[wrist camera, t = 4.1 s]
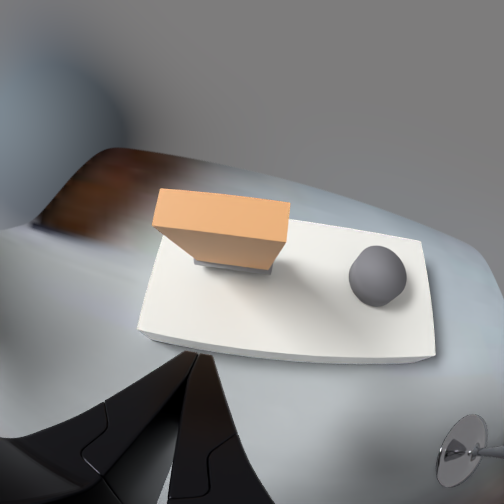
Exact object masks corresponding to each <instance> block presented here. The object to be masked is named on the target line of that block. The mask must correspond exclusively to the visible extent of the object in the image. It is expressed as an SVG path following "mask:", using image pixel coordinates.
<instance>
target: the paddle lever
mask: <svg viewBox="0 0 504 504" xmlns="http://www.w3.org/2000/svg"><path fill="white" fill-rule="evenodd" d="M289 212H290V203H288V202H281V201H274V200H267V199H259V198H251V197H243V196H234V195H225V194H216V193H206V192H196V191H185V190H173V189H161V188H160V192H159V196H158V200H157V204H156V209H155V213H154V218H153V222H152V226H153V227H154V228H156V229H157V230H158V231H159V232H161V233H162V234H163V235H165V236H166V237H167V238H168V239H170V240H171V241H172V242H174V243H175V244H176V245H177V246H179V247H180V248H181V249H183V250H184V251H185V252H187V253H188V254H189V255H190V256H192V257H193V258H194V264H195V265H200V266H207V267H215V268H222V269H229V270H237V271H244V272H252V273H259V274H267V275H271V272H272V267H273V262H274V261H275V259H276V257H277V256H278V254H279V253H280V251H281V250H282V248H283V247H284V245H285V244H286V241H287V232H288V222H289Z"/></svg>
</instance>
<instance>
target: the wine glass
mask: <svg viewBox="0 0 504 504" xmlns="http://www.w3.org/2000/svg"><path fill="white" fill-rule="evenodd" d="M487 440H488V430H487V425H486V423H485V421H484V419H483V418H482V417H481V416H479V415H476V414H471V415H467V416H465V417H463V418H462V419H461V420H459V421H458V422H457V423H456V424H455V425H454V427H453V428H452V429H451V430H450V432H449V433H448V435H447V436H446V438H445V440H444V442H443V444H442V447H441V449H440V452H439V455H438V459H437V465H436V475H437V479H438V481H439V483H440V484H441V485H442V486H444V487H448V488H450V487H455V486H458V485H460V484H461V483H463V482H464V481H466V480H467V479H468V478H469V477H470V476H471V475H472V474H473V473H474V471H475V470H476V469H477V467H478V466H479V464H480V462H481V460H482V458H483V456H486V457H495V458H501V459H504V445H503V446H498V447H491V448H486V446H487Z"/></svg>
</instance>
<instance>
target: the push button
mask: <svg viewBox="0 0 504 504" xmlns="http://www.w3.org/2000/svg"><path fill="white" fill-rule="evenodd" d="M406 281H407V275H406V270H405V267H404V264H403V263H402V261H401V259H400V258H399V257H398V256H397V255H396V254H395V253H394V252H393V251H391V250H390V249H388V248H386V247H383V246H370V247H367V248H366V249H364V250H363V251H362V252H361V253H360V255H359V256H358V257H357V259H356V260H355V261H354V263H353V264H352V265H351V268H350V270H349V283H350V286H351V289H352V291H353V293H354V294H355V295H356V297H357V298H358V299H359V300H361V301H362V302H363V303H365V304H367V305H370V306H374V307H380V306H384V305H386V304H388V303H389V302H390V301H392V300H393V299H394V298H396V297H397V296H398V295H400V294H401V293H402V291H403V290H404V288H405V286H406Z"/></svg>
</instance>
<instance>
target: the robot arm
mask: <svg viewBox="0 0 504 504" xmlns="http://www.w3.org/2000/svg"><path fill="white" fill-rule="evenodd" d="M172 462H173V464H172ZM171 465H172V470H171V477H170V484H169V492H168V501H167V504H275V503H274V501H273V500H272V499H271V497H270V495H269V494H268V492H267V491H266V489H265V488H264V486H263V485H262V483H261V481H260V480H259V478H258V477H257V475H256V473H255V471H254V469H253V468H252V466H251V464H250V462H249V460H248V458H247V455H246V453H245V451H244V448H243V446H242V443H241V440H240V438H239V435H238V433H237V430H236V427H235V424H234V421H233V418H232V415H231V412H230V409H229V406H228V403H227V400H226V397H225V394H224V391H223V387H222V384H221V381H220V378H219V374H218V371H217V368H216V364H215V361H214V358H213V356H212V355H208V354H203V353H200V354H199V355H198V353H197V352H191V351H183V352H182V353H180V354H179V355H177V356H176V357H174V358H173V359H171V360H170V361H168V362H167V363H165V364H163V365H162V366H160V367H159V368H157V369H156V370H154V371H152V372H151V373H149V374H148V375H146V376H145V377H143V378H141V379H140V380H138V381H137V382H135V383H133V384H132V385H130V386H128V387H127V388H125V389H123V390H122V391H120V392H119V393H117V394H115V395H114V396H112V397H110V398H109V399H107V400H105V403H104V402H102V403H100V404H98V405H96V406H95V407H93V408H91V409H89V410H87V411H86V412H84V413H82V414H80V415H78V416H76V417H73V418H71V419H69V420H67V421H64V422H62V423H60V424H57V425H54V426H52V427H49V428H47V429H44V430H41V431H39V432H36V433H33V434H30V435H27V436H24V437H20V438H2V437H0V504H157V501H158V498H159V496H160V493H161V491H162V488H163V485H164V483H165V480H166V478H167V475H168V472H169V470H170V467H171Z"/></svg>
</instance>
